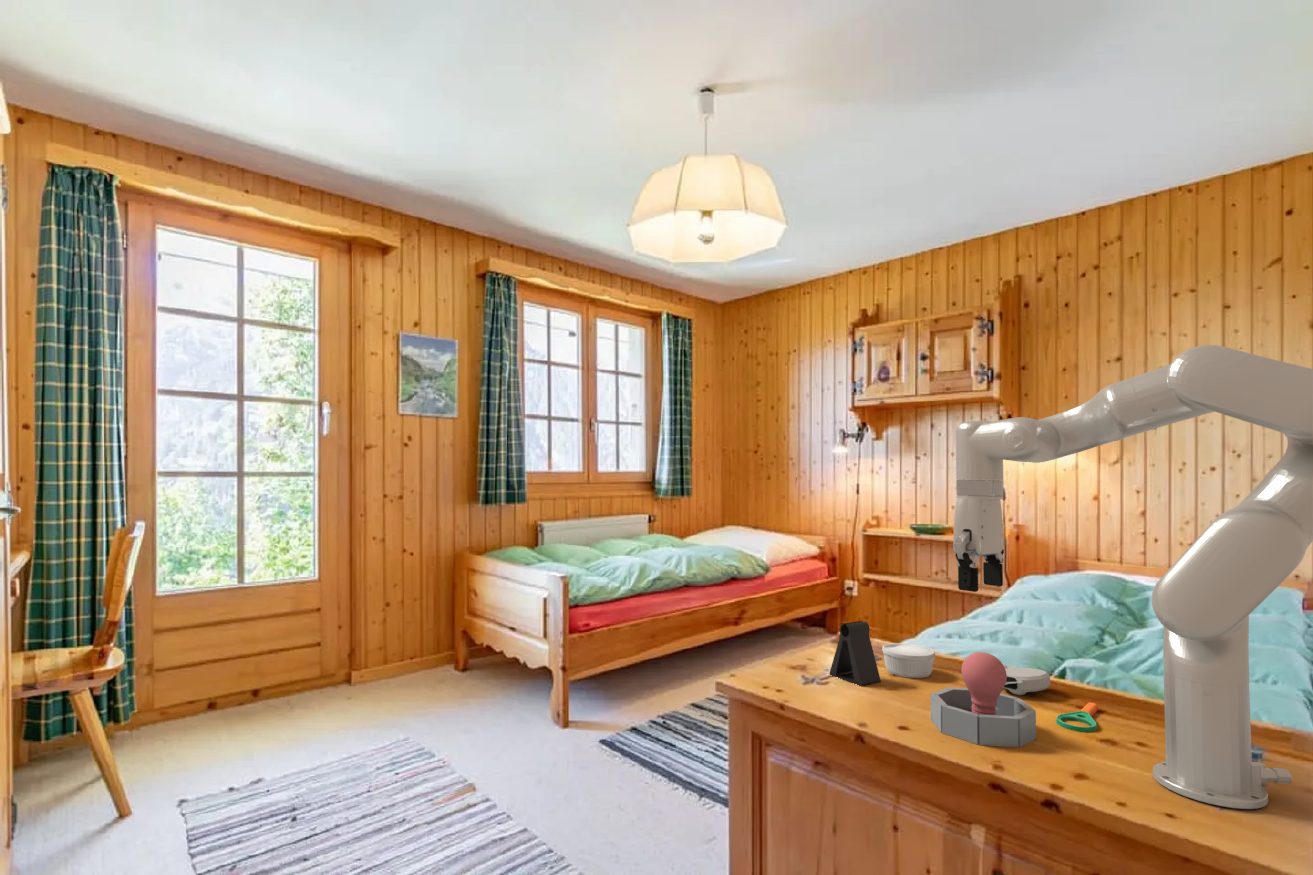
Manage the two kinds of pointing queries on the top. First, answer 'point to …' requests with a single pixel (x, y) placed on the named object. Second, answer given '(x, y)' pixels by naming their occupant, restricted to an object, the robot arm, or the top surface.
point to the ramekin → (908, 660)
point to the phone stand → (855, 655)
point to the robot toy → (1026, 680)
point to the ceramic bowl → (983, 719)
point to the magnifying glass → (1080, 718)
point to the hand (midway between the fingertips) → (981, 587)
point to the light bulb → (984, 681)
